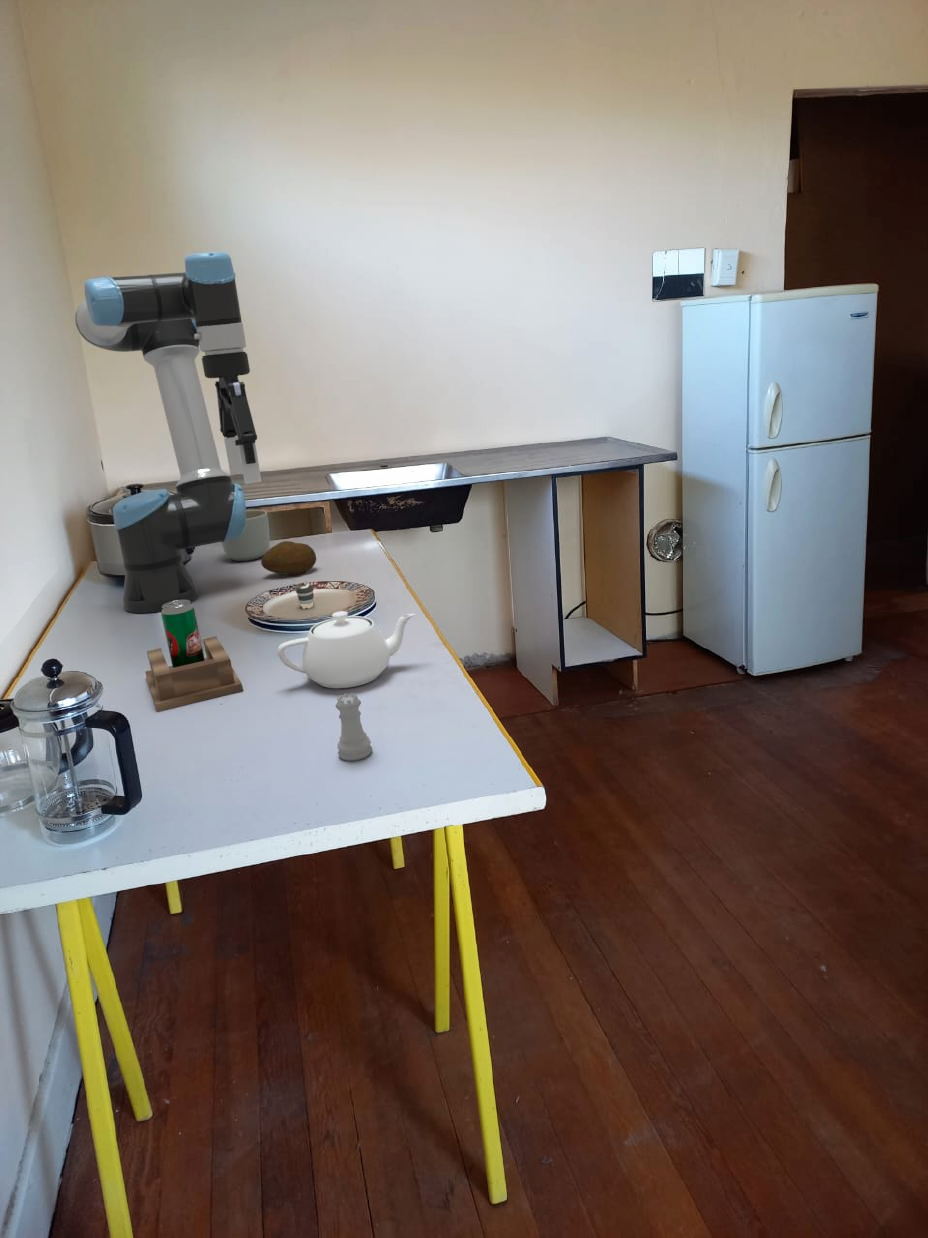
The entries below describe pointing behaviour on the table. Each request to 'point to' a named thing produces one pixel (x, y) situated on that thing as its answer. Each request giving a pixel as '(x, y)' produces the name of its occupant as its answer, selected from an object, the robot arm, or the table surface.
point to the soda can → (182, 633)
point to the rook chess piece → (352, 730)
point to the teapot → (345, 650)
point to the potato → (289, 558)
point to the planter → (250, 538)
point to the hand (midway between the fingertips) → (245, 478)
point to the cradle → (191, 678)
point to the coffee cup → (305, 593)
